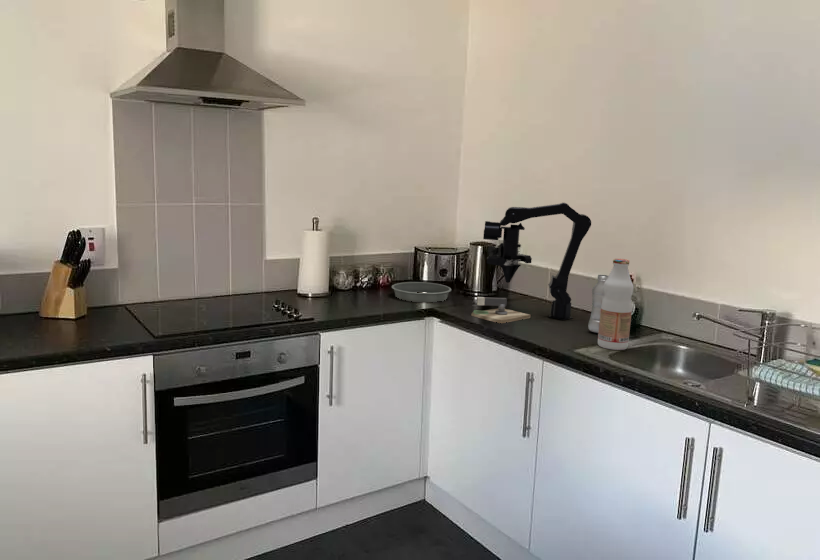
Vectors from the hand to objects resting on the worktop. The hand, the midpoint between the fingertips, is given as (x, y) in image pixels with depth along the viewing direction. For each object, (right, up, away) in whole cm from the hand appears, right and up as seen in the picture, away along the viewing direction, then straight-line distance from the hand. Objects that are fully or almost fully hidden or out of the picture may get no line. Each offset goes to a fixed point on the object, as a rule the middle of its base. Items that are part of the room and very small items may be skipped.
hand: (507, 282), depth 258 cm
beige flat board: (-4, -13, -3) cm, 14 cm away
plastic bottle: (+28, -17, -21) cm, 39 cm away
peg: (-7, -10, -5) cm, 13 cm away
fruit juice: (+28, -20, -38) cm, 52 cm away
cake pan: (-32, -7, +26) cm, 42 cm away
